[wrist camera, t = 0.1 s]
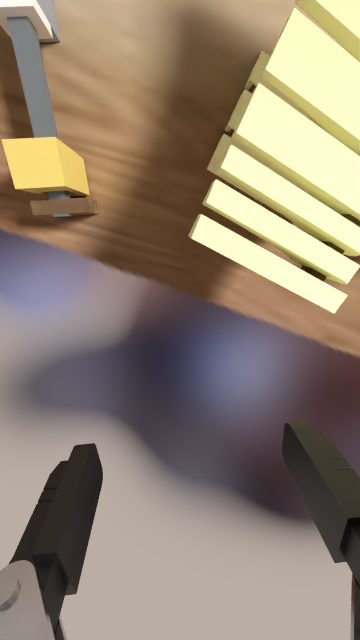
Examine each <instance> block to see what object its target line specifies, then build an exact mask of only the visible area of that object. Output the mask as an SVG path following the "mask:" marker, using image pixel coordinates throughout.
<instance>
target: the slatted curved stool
mask: <svg viewBox="0 0 360 640" xmlns="http://www.w3.org/2000/svg"><path fill="white" fill-rule="evenodd" d="M296 4H297V5H298V6H299V7H300V8H302V9H303V10H304V11H305V12H306V13H307V14H308V15H309V16H311V17H312V18H313V19H314V20H315V21H316V22H317V23H318V24H319V25H321V26H322V27H323V28H324V29H325V30H326V31H327V32H328V33H329V34H330V35H331V36H332V37H333V38H334V39H335V40H336V41H337V42H338V43H339V44H340V45H341V46H342V47H343V48H344V49H345V50H344V49H343V48H342V47H341V46H340V45H338V44H337V43H336V42H335V41H334V40H333V39H331V38H330V37H329V36H328V35H327V34H325V33H324V32H323V31H322V30H321V29H320V28H318V27H317V26H316V25H315V24H314V23H312V22H311V21H310V20H309V19H308V18H306V17H305V16H304V15H303V14H302V13H301V12H299V11H298V10H297V9H296V8H294V9H293V11H292V13H291V14H290V16H289V18H288V19H287V22H286V24H285V26H284V28H283V30H282V32H281V34H280V36H279V38H278V40H277V43H276V45H275V47H274V49H273V51H272V53H271V55H270V56H269V55H268V54H267V53H265V52H264V51H261V53H260V55H259V57H258V59H257V62H256V64H255V66H254V68H253V70H252V72H251V75H250V77H249V79H248V81H247V83H246V85H245V87H244V88H245V90H244V91H243V93H242V95H241V96H240V98H239V100H238V103H237V105H236V107H235V109H234V111H233V113H232V115H231V118H230V120H229V122H228V124H227V126H226V128H225V131H226V132H228V135H226V134H224V135H223V136H222V137H221V139H220V141H219V144H218V146H217V148H216V150H215V152H214V154H213V156H212V159H211V161H210V163H209V165H208V167H207V170H209V171H211V172H212V173H214V174H216V175H217V176H219V177H221V178H222V179H224V180H226V181H227V182H229V183H230V184H232V185H234V186H235V187H237V188H239V189H240V190H242V191H244V192H245V193H247V194H249V195H250V196H252V197H254V198H255V199H257V200H259V201H260V202H262V203H264V204H265V205H267V206H269V207H270V208H272V209H273V210H275V211H277V212H278V213H280V214H282V215H284V216H285V217H287V218H288V219H289V220H291V221H292V222H293V223H294V224H295V225H297V226H298V227H299V229H298V228H297V227H295V226H293V225H292V224H290V223H288V222H287V221H285V220H283V219H282V218H280V217H278V216H277V215H275V214H273V213H272V212H270V211H268V210H267V209H265V208H263V207H262V206H260V205H258V204H257V203H255V202H253V201H252V200H250V199H248V198H247V197H245V196H243V195H242V194H240V193H238V192H237V191H235V190H233V189H232V188H230V187H228V186H227V185H225V184H223V183H222V182H220V181H218V180H217V179H215V180H214V181H213V182H212V184H211V186H210V188H209V191H208V193H207V195H206V197H205V199H204V201H203V203H202V205H204V206H206V207H208V208H209V209H211V210H213V211H215V212H216V213H218V214H220V215H222V216H223V217H225V218H227V219H229V220H230V221H232V222H234V223H236V224H237V225H239V226H241V227H243V228H244V229H246V230H248V231H249V232H251V233H253V234H254V235H256V236H258V237H260V238H261V239H263V240H265V241H266V242H268V243H270V244H271V245H273V246H274V247H276V248H278V249H279V250H281V251H282V252H284V253H285V254H286V255H288V256H289V258H290V259H292V260H293V261H295V262H297V263H299V264H301V265H302V267H301V269H299V268H297V267H296V266H294V265H292V264H290V263H288V262H287V261H285V260H283V259H281V258H279V257H278V256H276V255H274V254H272V253H270V252H269V251H267V250H265V249H263V248H261V247H260V246H258V245H256V244H254V243H252V242H251V241H249V240H247V239H245V238H243V237H242V236H240V235H238V234H236V233H234V232H233V231H231V230H229V229H227V228H225V227H224V226H222V225H220V224H218V223H216V222H215V221H213V220H211V219H209V218H208V217H206V216H204V215H202V214H199V215H198V216H197V218H196V220H195V223H194V225H193V227H192V229H191V231H190V233H189V235H188V237H190V238H192V239H194V240H195V241H197V242H199V243H201V244H203V245H205V246H207V247H209V248H211V249H213V250H214V251H216V252H218V253H220V254H222V255H224V256H226V257H228V258H230V259H232V260H233V261H235V262H237V263H239V264H241V265H243V266H245V267H247V268H249V269H251V270H252V271H254V272H256V273H258V274H260V275H262V276H264V277H266V278H268V279H270V280H271V281H273V282H275V283H277V284H279V285H281V286H283V287H285V288H287V289H289V290H290V291H292V292H294V293H296V294H298V295H300V296H302V297H304V298H306V299H308V300H309V301H311V302H313V303H315V304H317V305H319V306H321V307H323V308H325V309H327V310H328V311H330V312H332V313H335V312H336V310H337V309H338V308H339V306H340V305H341V304H342V302H343V301H344V300H345V298H346V297H347V295H346V294H344V293H342V292H341V291H339V290H337V289H335V288H333V287H332V286H330V285H328V284H326V283H324V280H325V279H329V280H332V281H335V282H338V283H341V284H347V283H348V282H349V281H350V279H351V278H352V277H353V275H354V274H355V273H356V271H357V270H358V269H359V267H360V265H358V264H357V263H355V262H353V261H352V260H350V259H348V258H347V257H345V256H343V255H348V256H359V255H360V0H297V1H296ZM246 89H247V90H248V91H247V90H246ZM342 254H343V255H342Z"/></svg>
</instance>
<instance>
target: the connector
mask: <svg viewBox="0 0 360 640" xmlns="http://www.w3.org/2000/svg"><path fill="white" fill-rule="evenodd" d="M36 1H37V2H38V4H39V6H40V8H41V9H42V11H43V13H44V14H45V16H46V18H47V20H48V21H49V23H50V25H51V31H52V36H53V38H50V39H38V40H39V43H44V42H60V38H59V32H58V27H57V21H56V15H55V10H54V4H53V2H52V0H36Z"/></svg>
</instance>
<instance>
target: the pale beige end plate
mask: <svg viewBox="0 0 360 640" xmlns="http://www.w3.org/2000/svg"><path fill="white" fill-rule="evenodd" d="M24 16H27V17H28V19H29V20H30V22H31V23H32V25H33V26H34V28H35V29H36V31H37V35H38V39H50V38H53V36H52V31H51V25H50V23H49V21H48V20H47V18H46V16H45V14H44V13H43V11H42V9H41V8H40V6H39V4H38V2H37V1H36V0H0V25H1V27H2V28H3V29H4V30H5V31H6V33H7V34H8V35H9V36H10V37H11V34H10V30H9V26H8V21H7V17H24Z"/></svg>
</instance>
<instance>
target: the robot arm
mask: <svg viewBox="0 0 360 640" xmlns="http://www.w3.org/2000/svg"><path fill="white" fill-rule="evenodd" d="M282 455H283V459H284V462H285V464H286V467H287V469H288V470H289V472H290V475H291V477H292V478H293V480H294V482H295V484H296V487H297V489H298V490H299V492H300V494H301V496H302V498H303V500H304V502H305V504H306V506H307V508H308V510H309V512H310V514H311V516H312V518H313V520H314V522H315V524H316V526H317V528H318V530H319V532H320V534H321V536H322V538H323V540H324V542H325V544H326V546H327V548H328V550H329V552H330V554H331V556H332V558H333V560H334V562H335V563H339V562H347V563H348V565H349V567H350V569H351V571H352V573H353V574H352V592H351V593H352V595H351V638H350V640H360V477H359V476H358V475H357V473H356V472H355V471H354V470H353V469H352V468H351V465H350V464H349V463H348V461H347V460H346V459H345V458H344V457H343V455H342V454H341V452H340V451H339V450H338V448H337V447H336V446H335V444H334V443H332V442H331V441H330V440H329V439H327V438H326V437H325V436H323V435H322V434H314V433H313V431H312V430H311V429H310V427H309V426H308V424H307V423H306V422H304V421H301V422H291V423H286V424H285V425H284V434H283V443H282ZM102 480H103V471H102V465H101V462H100V459H99V455H98V452H97V448H96V445H95V444H94V443H93V444H82V445H76V446H74V448H73V450H72V452H71V455H70V457H69V460H68V461H61V462H60V463H59V464H58V465H57V467H56V468H55V469H54V470H53V472H52V473H51V474H50V476H49V478H48V480H47V483H46V485H45V487H44V491H43V492H42V494H41V496H40V498H39V501H38V504H37V505H36V507H35V509H34V511H33V514H32V516H31V518H30V520H29V522H28V525H27V527H26V529H25V532H24V534H23V536H22V538H21V540H20V543H19V545H18V547H17V549H16V551H15V554H14V556H13V558H12V560H11V561H10V563H9V565H8V566H6V567H5V568H3V569H2V570H1V571H0V640H67V638H66V635H65V631H64V627H63V623H62V620H61V616H60V612H61V608H62V604H63V600H64V596H65V595H72V594H76V593H77V589H78V584H79V580H80V576H81V572H82V567H83V563H84V559H85V555H86V550H87V546H88V542H89V538H90V533H91V529H92V525H93V520H94V516H95V512H96V508H97V503H98V499H99V495H100V491H101V486H102Z"/></svg>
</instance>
